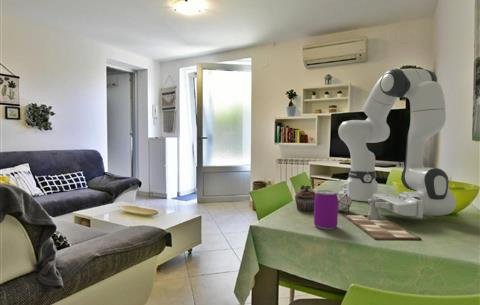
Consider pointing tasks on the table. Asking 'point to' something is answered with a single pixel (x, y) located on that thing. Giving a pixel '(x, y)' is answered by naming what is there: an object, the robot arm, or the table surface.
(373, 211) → the rook chess piece
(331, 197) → the beverage can
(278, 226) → the table surface
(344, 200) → the game die
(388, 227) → the board
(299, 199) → the cupcake
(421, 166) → the robot arm
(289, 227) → the table surface
